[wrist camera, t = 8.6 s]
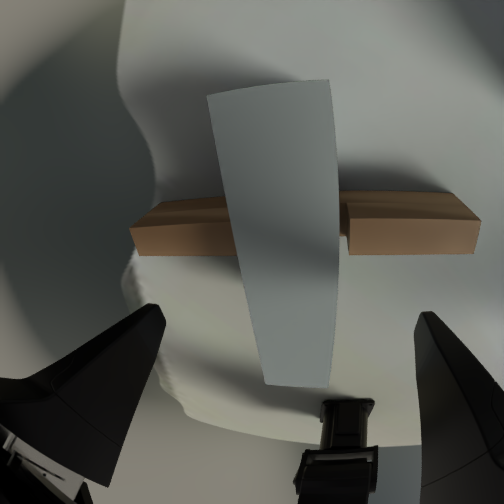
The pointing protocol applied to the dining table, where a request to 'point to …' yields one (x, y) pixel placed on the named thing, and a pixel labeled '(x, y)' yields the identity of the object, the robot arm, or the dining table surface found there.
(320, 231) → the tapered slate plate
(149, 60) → the dining table surface
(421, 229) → the slotted walnut board
